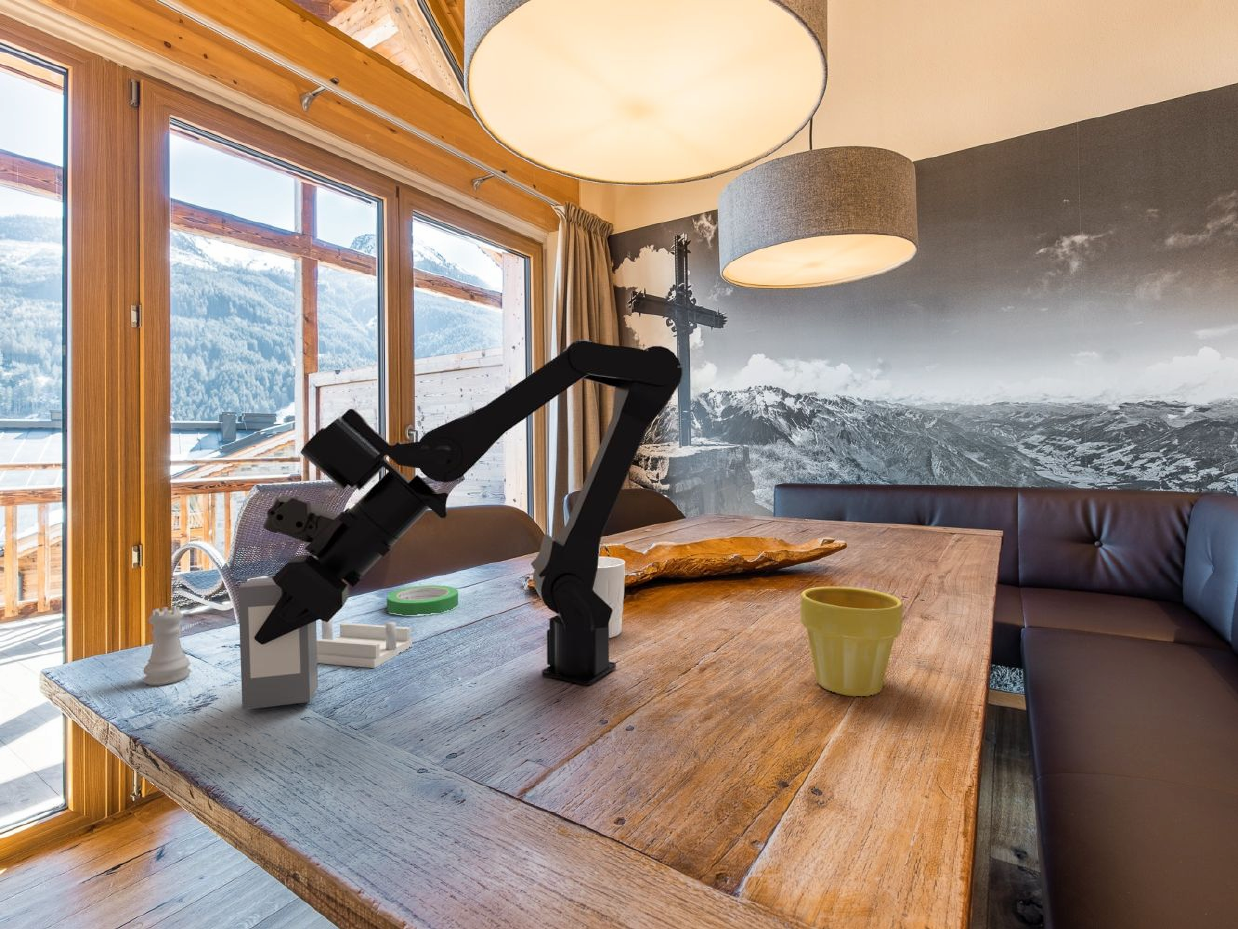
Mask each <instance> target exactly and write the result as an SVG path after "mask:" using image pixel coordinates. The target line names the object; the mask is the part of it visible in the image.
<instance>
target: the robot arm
mask: <svg viewBox="0 0 1238 929" xmlns="http://www.w3.org/2000/svg"><path fill="white" fill-rule="evenodd" d="M679 359H680V358H678V356H677V355H676V354H675V353H674V352H673V351H672V350H670V348H667V347H664V346H661V345H653V346H650V347H647V348H645V349H641V348H636V347H632V346H624V345H623V346H621V345H612V344H603V343H600V342H599V343H597V342H594V341H590V340H588V339H578V340H575V341H572V343H571V344H569V345H568V346H566V347H565V349H564V350H563V351H562V352H561V353H560V354H558V355H557V356H555V357H554V358H552V359H551V360H549V361H548V362H547V363H545V364H544V365H542V366H541V367H540V368H538V369H536V370H535V371H534V372H532V373H531V374H529V375H528V376H526V377H525V378H524V379H522V380H521V381H519V382H518V383H516V384H515V385H514V386H512V387H511V388H509V389H508V390H506V391H504V392H503V393H502V394H500V395H499V396H498V397H496V398H495V399H493V400H492V401H490V402H489V403H487V404H486V405H484V406H482V407H480V408H478V409H475V410H474V411H471V412H469V413H466V414H464V415H462V416H460V417H457V418H455V419H453V420H451V421H448V422H446V423H445V424H442V425H440V426H438V427H435V428H433V429H431V430H429V431H428V432H426V433H425V434H424V435H422V437H421V438H420V439H419V441H413V442H405V443H403V442H402V441H397V442H396V443H394V444H392V445H391V443H390V442H388V441H387V440H386V439H385V438H384V437H382V436H381V434H380V433H378V432H377V431H376V430H375V429H374V428H373V427H371V426H370V425H369V423H368V422H367V421H366V419H365V418H364V417H363V415H361V414H360V413H359V412H358V411H357V410H356V409H353V408H349V409H347V411H346V412H344V414H343V415H341V416H339V417H338V418H336V419H335V420H333V421H332V422H331V423H330V424H329V425H327V426H326V427H322V428H320V429H319V430H318V431H317V432H316V433H315V434H314V435H312V437H311V438H310V439H309V440H308V441H306V442H307V443H305V445H304V446H303V447H302V448H301V450H300V454H301V455H302V457H304V458H306V459H307V460H308V461H309V462H310V463H311V464H313V465H314V466H315V467H316V468H317V469H318V470H319V471H320V472H322V473H323V475H325V476H327V478H328V479H330V480H331V481H332V482H333V483H334V484H336V486H338V487H339V489H341V490H342V491H345V490H346V489H347V488H349V487H351V488H352V489H353V488H354V487H355V488H356V489H357V490H358V491H361V490H362V489H363V488H364V487H366V486H367V485H368V483H370V482H371V481H372V480H373V478H375V477H376V476H377V474H379V473H380V472H381V471H382V469H385V470H386V471H387V472H386V474H384V476H382V477H381V478H380V479H379V480H378V481H377V482H376V483H375V484H374V485H373V486H372V487H371V488H370V489H369V490H368V491H367V492H366V493H365V494H364V495H363V496H362V497H361V498H360V499H359V500H358V501H357V502H356V503H355V504H354V505H353V506H352V507H348V508H346V509H345V510H343V511H341V512H340V513H339V514H338V513H337V514H336V513H334V512H333V511H329V510H327V509H325V508H322V507H320V506H319V505H318V506H317V505H315V504H312V503H311V501H304V500H302V499H299V497H298V496H289V495H281V496H277V497H276V498H275V501H274V502H273V504H272V507H270V508H269V509H268V510H267V512H266V515H267V517H266V519H265V521H264V523H263V526H262V527H263V529H264V530H266V531H269V532H271V533H273V534H277V533H279V534H283V535H285V536H288V537H291V538H293V539H296V540H299V541H302V542H305V543H308V544H307V545H306V546H305V548H304V549H305V550H306V551H307V552H308V553H309V555H296V556H294V557H293V558H292V559H290V560H289V561H288V562H287V563H285V564H284V566H282V567H281V569H280V570H279V571H277V573H275V575H273V576H272V577H273V578H272V579H273V581H274V582H275V584H276V585H278V586H279V587H280V588H281V589H282V595H281V597H280V599H279V600H278V602H277V604H276V605H275V607H274V608H273V610H272V611H271V613H270V614H269V616H268V617H267V619H266V620H265V622H264V623H263V625H262V626H261V628H260V629H259V631H258V632H257V634H256V635H255V637H254V639H255V640H256V641H257V642H258V643H260V644H262V645H263V644H266V643H268V642H270V641H272V640H274V639H277V638H279V637H281V636H283V635H285V634H287V633H290V632H292V631H294V630H296V629H298V628H301V627H303V626H305V625H307V624H310V623H312V622H314V621H316V622H317V621H319V620H320V621H321V622H322V621H325V622H328V621H329V620H330V619H331V618H332V619H333V617H334V616H336V614H337V613H338V612H339V611H340V610H341V609H342V608H343V607H344V606H345V604H346V602H347V601H348V599H349V589H348V588H349V587H348V585H350V586H351V587H352V588H355V586H356V585H357V584H358V583H359V582H361V579H362V578H363V577H364V575H366V573H367V572H368V571H369V570H370V569H371V568H372V567H373V566H375V564H376V563H377V562H378V561H379V560H380V559H381V558H382V557H385V555H386V554H387V553H388V552H390V550H391V549H392V547H393V546H394V545H395V543H397V542H398V541H399V539H400V538H402V536H403V535H404V534H405V533H406V532H407V531H408V530H410V529H411V527H412V526H413V525H414V524H415V523H416V522H418V520H419V519H420V518H421V517H422V516H423V515H424V514H425V513H426V512H427V511H428V510H429V509H430V510H431V511H432V512H434V513H435V515H437V516H438V517H439V518H440V519H445V518H446V517H447V516H448V513H447V512H448V510H447V500H448V497H449V492H448V491H447V490H444V491H436V490H435V489H434V488H433V487H431V486H430V484H429V483H428V482H426V481H425V480H424V479H423V478H422V477H421V476H419V475H418V474H416V475H414V477H413V478H412V479H411V480H410V478H408V477H407V476H406V475H404V474H403V473H402V472H401V471H400V470H399V469H398V468H396V467H395V466H394V465H393V464H392V463H391V462H390V461H388V460H387V459H386V458H387V457H388V458H389V459H391V460H392V461H393V462H394V463H395V464H396V465H398V466H403V467H409V468H414V469H419V471H420V472H421V473H422V474H423V475H425V476H426V477H427V478H428V479H430V480H433V481H434V482H440V483H452V482H454V481H456V480H458V479H460V478H462V477H463V476H464V475H465V474H466V473H468V471H469V470H471V468H472V467H473V466H474V465H475V464H477V463H478V461H479V460H480V459H481V458H483V456H484V455H485V454H486V453H487V452H488V451H489V450H490V448H492V447H493V445H494V444H496V442H498V440H499V439H500V438H501V437H502V436H503V435H504V434H505V433H506V432H508V431H509V430H510V429H512V428H513V427H515V426H517V425H518V424H519V423H520V422H522V421H523V420H525V419H526V418H528V417H529V416H530V415H532V414H534V413H535V412H536V411H538V410H539V409H541V407H543V406H545V405H546V404H547V403H549V402H551V401H552V400H553V399H554V398H556V397H557V396H559V395H560V394H561V393H563V392H565V390H567V389H568V388H570V387H571V386H573V385H575V384H576V383H578V382H579V381H580V380H581V379H582V380H586V381H587V380H588V381H590V382H594V383H597V384H600V385H603V386H607V387H612V388H615V389H614V394H613V403H612V404H613V405H612V406H613V407H612V408H613V409H612V414H611V415H612V416H611V419H610V421H609V424H608V426H607V429H606V431H605V433H604V435H603V438H602V439H601V443H600V444H599V447H598V450H597V452H596V455H595V457H594V459H593V462H592V464H591V466H590V468H589V471H588V473H587V476H586V477H585V481H584V482H583V485H582V488H581V490H580V491H579V495H578V497H577V499H576V501H575V503H574V506H573V508H572V511H571V513H570V516H569V518H568V521H567V523H566V525H565V526H564V527H563V528H562V529H561V531H560V532H559V533H558V534H557V536H556V537H552V536H550V535H549V534H547V533H544V535H543V538H542V541H541V546H540V549H539V552H538V554H537V555H536V557H535V559H533V561H531V563H530V565H531V567H532V568H533V569H534V571H533V574H532V581H533V585H534V589H535V590H536V593H537V594H538V595H539V597H540V599H541V600H542V602H543V604H544V605H545V606H546V607H547V608H548V609H549V610H550V611H552V612H554V613H555V614H556V615H555V616H552V617H550V618H549V619H548V620H549V621H548V622H549V624H548V626H549V627H548V629H547V630H546V664H547V665H548V666H547V667H545V668H543V669H542V670H541V676H543V677H548V678H549V677H550V678H553V679H558V680H561V681H567V682H572V683H575V684H581V685H584V686H588V685H592V684H593V683H595V682H596V681H598V680H599V679H601V678H602V677H604V676H605V675H607V674H608V673H609V672H612V671H613V670H614V669H616V667H617V663H616V662H614V661H610V638H609V621H610V618H611V615H612V611H613V610H612V608H611V607H610V606H609V605H608V604H607V603H606V602H605V601H604V600H603V599H602V598H601V597H599V596H598V595H597V594H596V593H595V592H594V591H593V586H594V582H595V578H596V574H597V569H598V558H599V557H600V545H601V539H602V536H603V535H604V532H605V529H606V527H607V525H608V522H609V520H610V517H611V515H612V512H613V511H614V508H615V506H616V503H617V501H618V498H619V495H620V494H621V491H622V489H623V487H624V484H625V482H626V479H627V477H628V475H629V472H630V469H631V467H632V465H633V462H634V460H635V458H636V456H637V453H638V451H639V449H640V446H641V444H642V441H643V439H644V436H645V434H646V431H647V430H648V428H649V427H650V426H651V424H652V423H653V421H654V420H655V419H656V418H657V417H658V415H659V414H660V413H661V411H663V410H664V408H666V406H667V404H668V403H669V402H670V399H671V398H672V397H673V395H674V393H675V392H676V390H677V388H678V387H679V385H680V383H681V381H682V377H683V367H682V365H681V362H680V360H679ZM310 554H311V555H310ZM344 581H345V582H344ZM347 583H348V584H347Z"/></svg>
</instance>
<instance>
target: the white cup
mask: <svg viewBox="0 0 1238 929" xmlns="http://www.w3.org/2000/svg"><path fill="white" fill-rule="evenodd" d="M625 571H626V561H625V560H624V559H621V558H617V557H611V556H599V558H598V569H597V574H596V578H595V582H594V586H593V591H594V592H595V593H596V594H597V595H598V596H599V597H601V598H602V599H603V600H604V601H605V602H606V603H607V604H608V605H609V606H610V607H611V608H612V610H613V611H612V615H611V618H610V621H609V639H611V638H614V637H617V636H619V635H620V634H621V633H622V627H623V616H622V615H623V612H624V600H625V599H624V597H625V579H626V578H625V575H626V574H625Z"/></svg>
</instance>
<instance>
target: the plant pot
mask: <svg viewBox="0 0 1238 929" xmlns="http://www.w3.org/2000/svg"><path fill="white" fill-rule="evenodd" d="M903 607H904V606H903V602H902V601H901V600H900V599H899V598H898V597H896V596H894V595H892V594H889V593H885V592H881V591H876V590H873V589H867V588H861V587H860V588H859V587H849V586H817V587H812V588H807V589H805V590H803V591H802V592H801V594H800V622H801V624H802V625H803V627H805V628H806V630H807V631H806V632H807V635H808V636H807V637H808V641H809V646H810V652H811V656H812V664H813V668H814V673H815V679H816V682H817V683H818V685H820V687H821V688H823V689H825V690H827V691H829V692H831V691H832V693H834V692H835V693H834V694H838V695H842V696H848V697H856V696H861V697H862V696H866V697H871V696H870V695H872V696H875V695H877V693H878V692H879V693H881V691H882V687H883V683H884V680H885V676H886V672H887V669H888V665H889V660H890V656H891V653H892V652H891V651H892V649H893V646H894V642H895V639H896V638H897V637H898V638H899V636H900V635H901V633H902V628H903V610H904V608H903ZM879 693H878V694H879ZM874 694H875V695H874ZM861 697H860V698H861ZM862 698H863V697H862Z"/></svg>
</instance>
